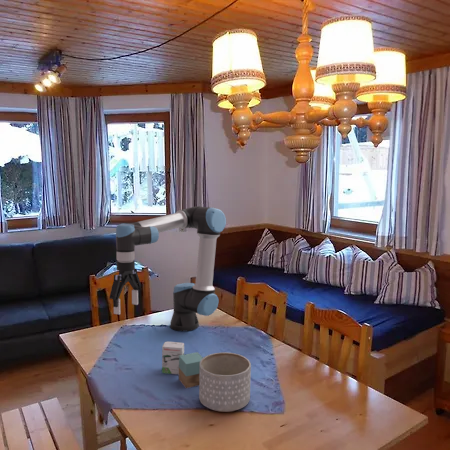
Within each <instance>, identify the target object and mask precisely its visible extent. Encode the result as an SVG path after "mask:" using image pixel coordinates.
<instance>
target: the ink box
mask: <svg viewBox="0 0 450 450" xmlns="http://www.w3.org/2000/svg"><path fill="white" fill-rule="evenodd" d="M161 348H162V349H161V351H162V352H161V355H162V357H161V360H162V361H161V362H162V363H161V373H162V374H170V375H171V374H172V375H179V356H180V355H185V343H184V342H176V341H165V342H164V343H163V344H162V347H161Z"/></svg>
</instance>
